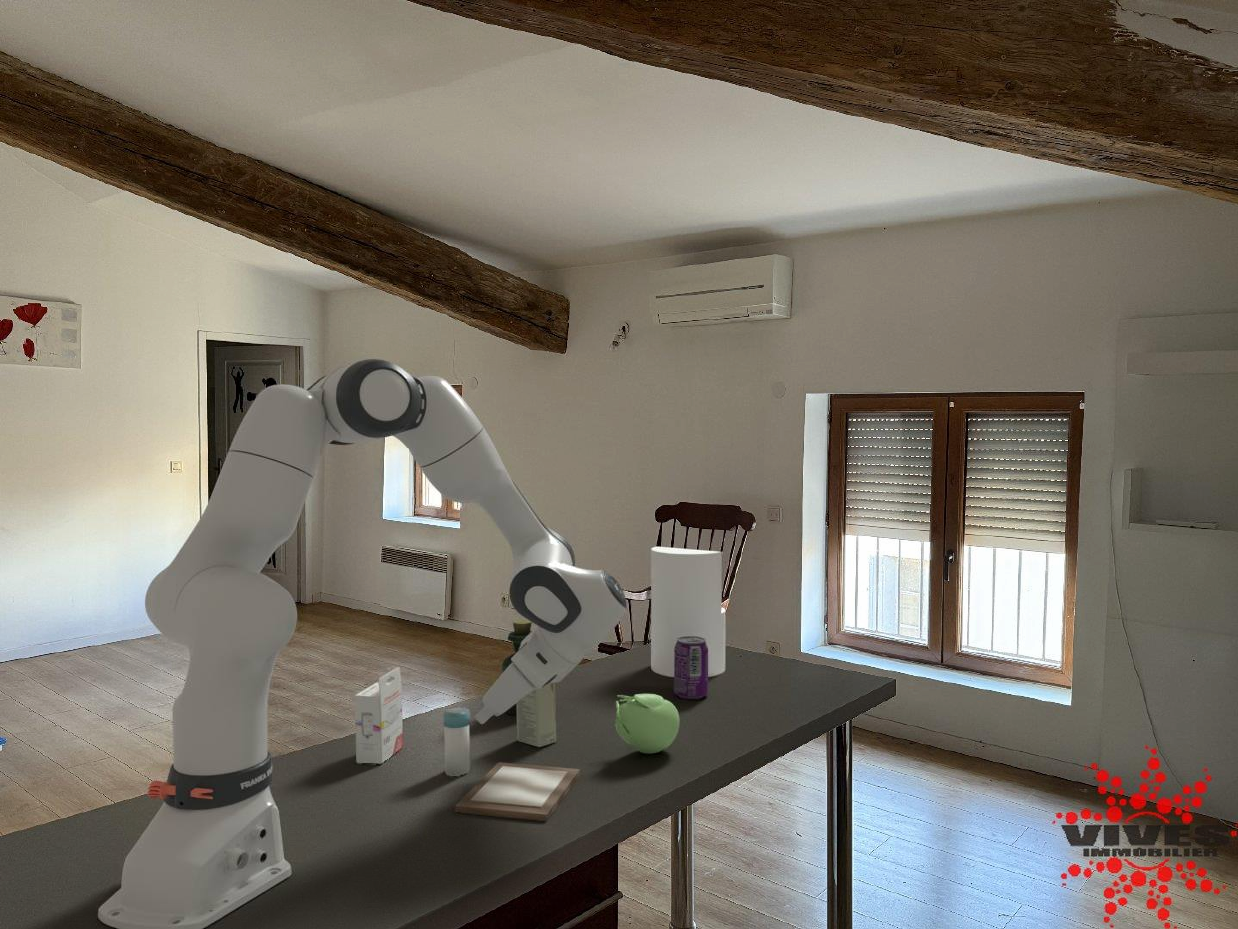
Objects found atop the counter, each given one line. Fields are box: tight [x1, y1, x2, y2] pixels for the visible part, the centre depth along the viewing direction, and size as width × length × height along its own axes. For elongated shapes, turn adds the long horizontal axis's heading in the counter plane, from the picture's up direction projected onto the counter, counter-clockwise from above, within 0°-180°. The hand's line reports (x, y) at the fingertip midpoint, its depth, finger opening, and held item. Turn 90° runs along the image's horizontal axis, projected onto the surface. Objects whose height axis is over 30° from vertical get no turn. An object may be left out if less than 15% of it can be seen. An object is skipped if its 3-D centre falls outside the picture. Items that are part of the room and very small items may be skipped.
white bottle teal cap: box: [443, 707, 471, 775], centre depth 152 cm, size 4×4×10 cm
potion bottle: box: [501, 619, 533, 717], centre depth 184 cm, size 8×8×18 cm
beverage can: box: [673, 636, 709, 700], centre depth 195 cm, size 7×7×12 cm
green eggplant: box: [614, 693, 681, 755], centre depth 160 cm, size 12×11×11 cm
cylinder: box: [650, 546, 726, 678], centre depth 217 cm, size 17×17×28 cm
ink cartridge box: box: [353, 666, 404, 764], centre depth 159 cm, size 9×5×15 cm, turn 168°
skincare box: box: [516, 682, 557, 748], centre depth 167 cm, size 6×4×12 cm
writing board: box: [454, 761, 581, 822], centre depth 143 cm, size 18×14×1 cm
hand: (490, 710), depth 150 cm, fingers open, 8 cm apart
